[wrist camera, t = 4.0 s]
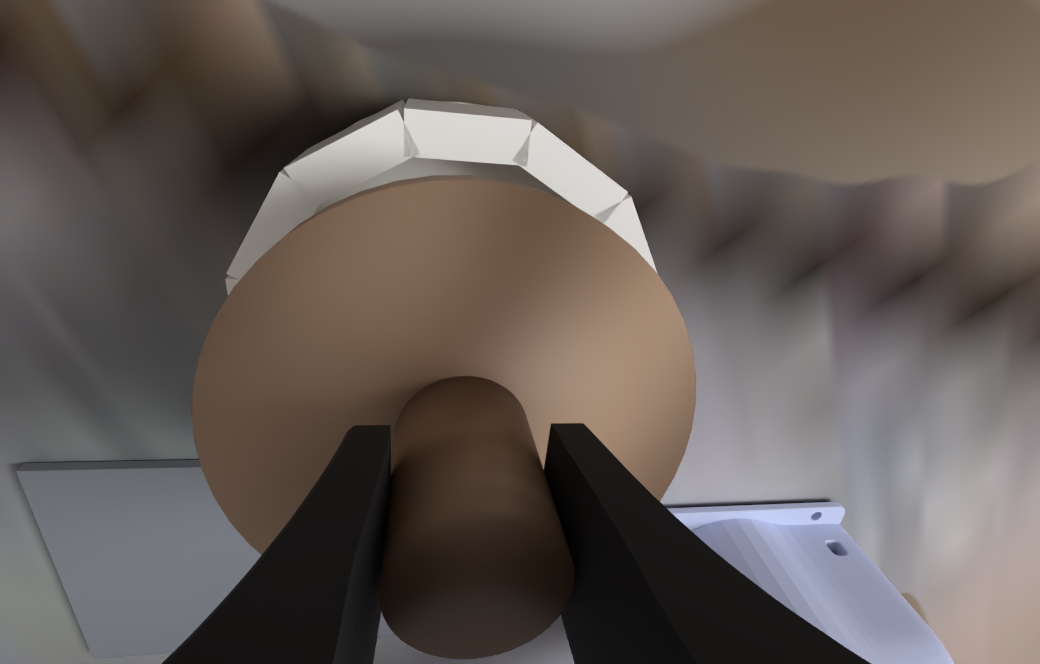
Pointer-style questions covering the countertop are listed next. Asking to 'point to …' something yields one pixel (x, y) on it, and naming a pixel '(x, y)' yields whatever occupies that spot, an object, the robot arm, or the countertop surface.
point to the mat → (138, 549)
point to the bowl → (434, 168)
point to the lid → (445, 389)
